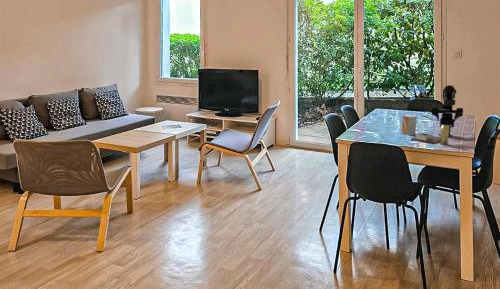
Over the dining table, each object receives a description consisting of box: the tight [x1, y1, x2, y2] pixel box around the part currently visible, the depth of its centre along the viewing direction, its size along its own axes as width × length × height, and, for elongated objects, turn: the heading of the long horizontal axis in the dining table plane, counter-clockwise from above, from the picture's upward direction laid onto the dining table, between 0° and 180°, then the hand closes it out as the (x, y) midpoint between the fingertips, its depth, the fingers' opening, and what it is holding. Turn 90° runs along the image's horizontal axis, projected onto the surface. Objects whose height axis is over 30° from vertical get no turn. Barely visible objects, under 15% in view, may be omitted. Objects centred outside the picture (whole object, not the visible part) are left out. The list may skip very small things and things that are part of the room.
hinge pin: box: [439, 125, 449, 146], centre depth 285 cm, size 4×4×12 cm
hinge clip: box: [415, 132, 434, 141], centre depth 297 cm, size 8×8×3 cm
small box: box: [401, 114, 417, 136], centre depth 319 cm, size 8×6×13 cm
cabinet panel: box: [410, 136, 441, 144], centre depth 299 cm, size 16×16×1 cm
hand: (446, 121), depth 291 cm, fingers open, 9 cm apart
